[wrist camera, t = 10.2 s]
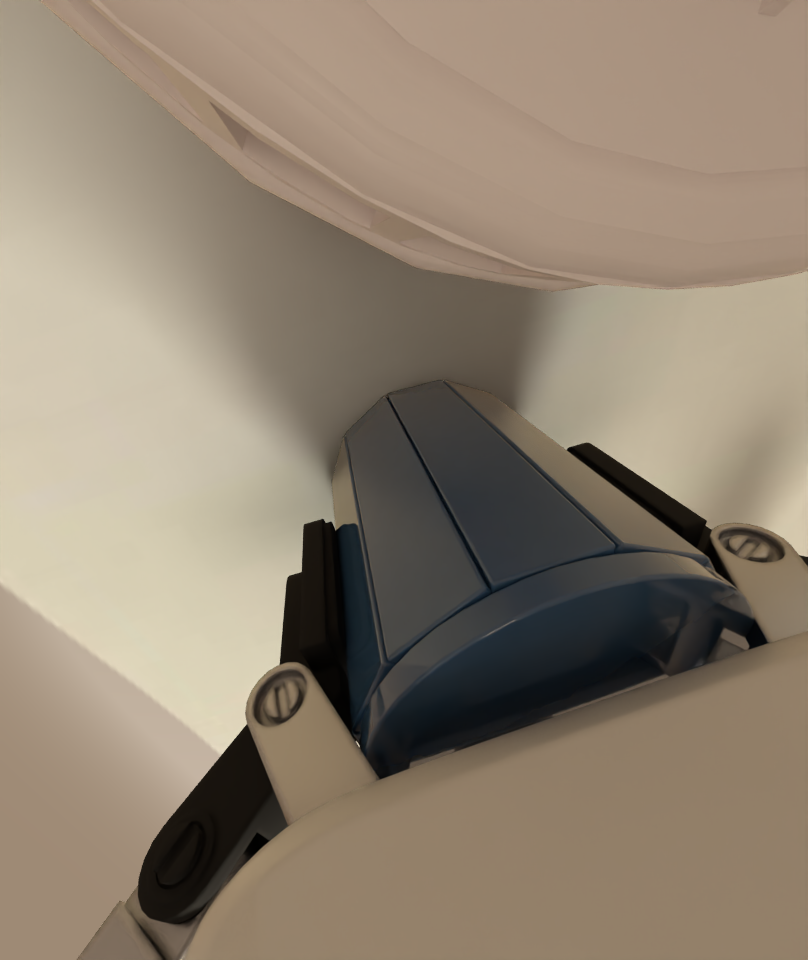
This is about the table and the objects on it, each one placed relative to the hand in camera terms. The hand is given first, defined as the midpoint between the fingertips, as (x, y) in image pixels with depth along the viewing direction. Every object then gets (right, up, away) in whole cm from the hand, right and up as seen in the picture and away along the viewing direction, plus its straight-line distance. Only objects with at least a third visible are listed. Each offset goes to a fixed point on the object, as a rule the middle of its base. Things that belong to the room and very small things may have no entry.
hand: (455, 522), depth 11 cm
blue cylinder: (-1, +1, +2) cm, 3 cm away
